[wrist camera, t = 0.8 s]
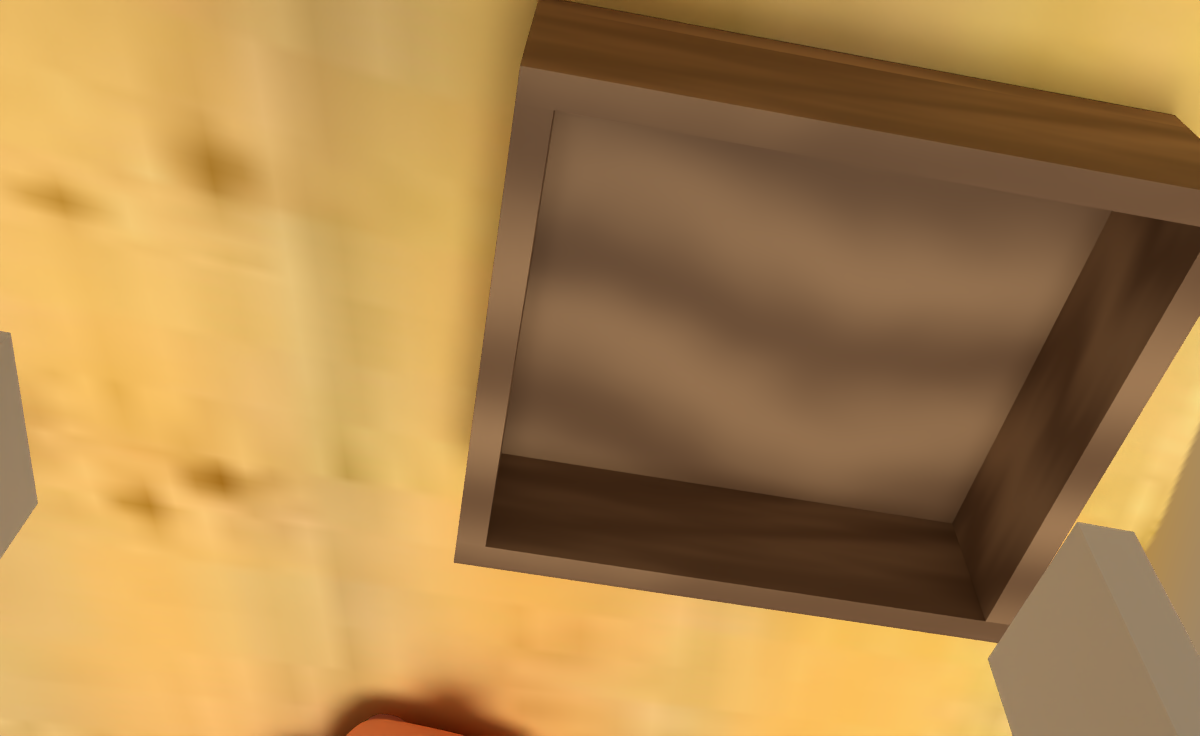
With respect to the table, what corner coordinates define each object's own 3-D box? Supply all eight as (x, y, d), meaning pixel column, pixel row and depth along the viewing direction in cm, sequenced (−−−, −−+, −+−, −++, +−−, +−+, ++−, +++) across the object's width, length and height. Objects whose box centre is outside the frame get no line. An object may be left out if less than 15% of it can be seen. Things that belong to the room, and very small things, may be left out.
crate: (539, -4, 31) (520, 65, 26) (1183, 117, 33) (1278, 204, 28) (476, 452, 42) (453, 562, 37) (968, 528, 43) (1009, 644, 38)
